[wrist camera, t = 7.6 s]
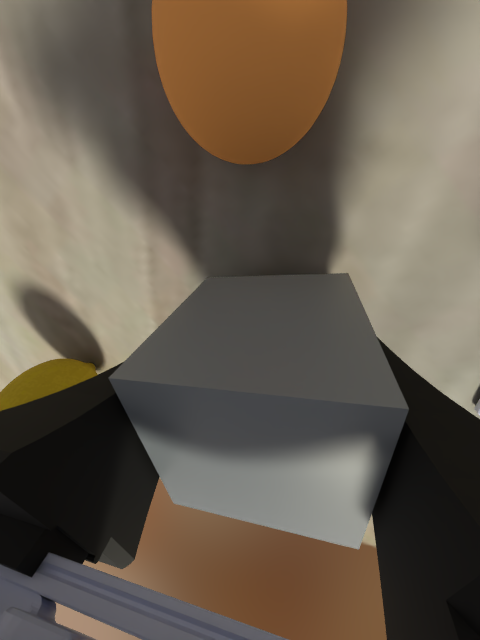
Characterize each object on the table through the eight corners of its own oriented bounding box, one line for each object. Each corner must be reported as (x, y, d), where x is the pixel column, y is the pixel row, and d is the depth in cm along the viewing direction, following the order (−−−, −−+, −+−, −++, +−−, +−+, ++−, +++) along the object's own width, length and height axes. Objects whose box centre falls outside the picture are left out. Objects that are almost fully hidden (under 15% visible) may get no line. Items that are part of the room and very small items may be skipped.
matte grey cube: (348, 273, 9) (409, 409, 4) (335, 383, 12) (358, 549, 7) (207, 277, 11) (108, 377, 5) (226, 374, 14) (173, 503, 8)
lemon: (52, 333, 19) (-79, 418, 13) (112, 345, 18) (4, 443, 12) (76, 381, 22) (-21, 469, 16) (128, 392, 21) (49, 492, 15)
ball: (375, 26, 4) (335, 176, 8) (373, -391, 3) (332, 20, 8) (114, 112, 5) (207, 200, 10) (85, -167, 5) (197, 68, 9)
